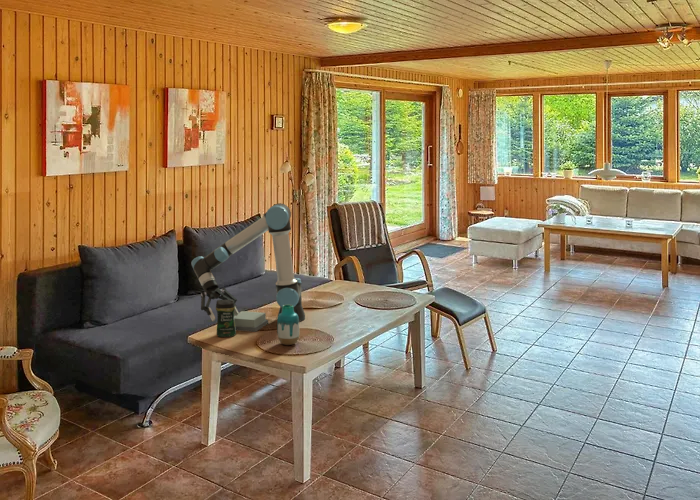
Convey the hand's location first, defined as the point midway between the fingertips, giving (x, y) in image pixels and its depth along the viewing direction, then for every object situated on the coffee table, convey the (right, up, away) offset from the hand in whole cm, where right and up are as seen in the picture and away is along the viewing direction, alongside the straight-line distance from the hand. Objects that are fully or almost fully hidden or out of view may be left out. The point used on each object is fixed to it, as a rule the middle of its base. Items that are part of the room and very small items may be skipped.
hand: (225, 317), depth 324 cm
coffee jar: (0, -10, +2) cm, 10 cm away
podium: (+9, -7, +17) cm, 20 cm away
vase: (+33, -12, -13) cm, 37 cm away
